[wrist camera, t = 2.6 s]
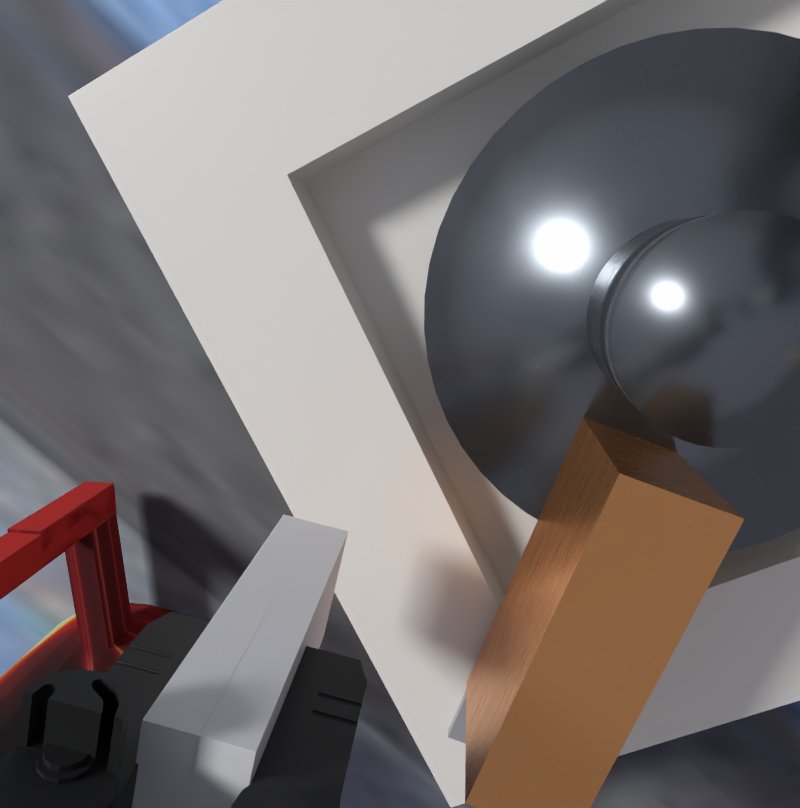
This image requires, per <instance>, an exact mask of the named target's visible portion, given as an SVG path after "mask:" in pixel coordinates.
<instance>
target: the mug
mask: <svg viewBox="0 0 800 808" xmlns="http://www.w3.org/2000/svg"><path fill="white" fill-rule="evenodd" d="M116 513H117V512H116V501H115V490H114V484H113V483H102V482H84V483H83V484H81V485H79V486H78V487H76V488H74V489H73V490H71V491H69V492H68V493H66V494H64V495H63V496H61V497H60V498H58V499H56V500H55V501H53V502H51V503H50V504H48V505H46V506H45V507H43V508H42V509H40V510H38V511H37V512H35V513H33V514H32V515H30V516H28V517H27V518H25V519H23V520H22V521H20V522H19V523H17V524H15V525H14V526H12V527H10V528H9V529H8V533H7V534H5V535H3V536H2V537H0V599H2V598H3V597H4V596H6V595H7V594H8V593H10V592H11V591H12V590H14V589H15V588H16V587H18V586H19V585H21V584H22V583H23V582H25V581H26V580H27V579H29V578H30V577H31V576H33V575H34V574H35V573H37V572H38V571H39V570H41V569H42V568H43V567H45V566H46V565H47V564H49V563H50V562H51V561H53V560H54V559H55V558H57V557H58V556H59V555H61V554H62V553H63V552H65V554H66V560H67V566H68V572H69V578H70V584H71V590H72V595H73V601H74V607H75V613H76V614H74V615H73V616H71V617H69V618H68V619H66V620H64V621H63V622H61V623H59V624H58V625H57V626H56V627H55V628H54V629H53V630H52V631H50V632H49V633H48V634H47V635H46V636H45V637H44V638H43V639H42V640H41V641H40V642H38V643H37V644H36V645H35V646H34V647H33V648H32V649H31V650H30V651H29V652H28V653H26V654H25V655H24V656H23V657H22V658H21V659H20V660H19V661H18V662H17V663H15V664H14V665H13V666H12V667H11V668H10V669H9V670H8V671H7V672H6V673H5V674H3V675H2V676H1V677H0V753H5V752H9V751H13V750H14V749H15V748H16V747H17V745H18V735H19V726H20V716H21V706H22V696H23V691H24V690H26V689H27V688H29V687H30V686H31V685H33V684H34V683H36V682H37V681H38V680H40V679H43V678H45V677H48V676H51V675H54V674H56V673H59V672H65V671H73V670H81V669H82V670H90V671H98V672H103V673H106V672H107V671H108V670H109V669H110V667H111V666H112V665H113V664H114V663H116V662H117V660H118V658H119V657H120V656H121V654H122V653H123V652H124V651H125V650H126V649H127V647H130V645H131V643H132V641H133V640H134V639H135V638H136V637H137V636H138V634H139V633H140V632H141V631H142V630H143V629H144V627H145V626H146V625H147V624H149V623H151V622H153V621H155V620H156V619H158V618H160V617H162V616H164V615H166V614H168V613H170V612H174V611H171V610H167V609H164V608H160V607H156V606H152V605H147V604H135V603H129V598H128V591H127V584H126V577H125V570H124V564H123V557H122V550H121V543H120V537H119V530H118V523H117V516H116ZM175 613H177V612H175ZM178 614H179V613H178Z"/></svg>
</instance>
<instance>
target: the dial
mask: <svg viewBox="0 0 800 808" xmlns="http://www.w3.org/2000/svg"><path fill="white" fill-rule="evenodd" d="M424 333H425V342H426V350H427V359H428V364H429V368H430V372H431V376H432V380H433V384H434V388H435V392H436V394H437V397H438V399H439V402H440V404H441V407H442V409H443V412H444V414H445V417H446V419H447V422H448V423H449V425H450V427H451V429H452V431H453V432H454V434H455V436H456V438H457V439H458V441H459V443H460V445H461V447H462V448H463V449H464V451H465V452H466V453H467V455H468V456H469V457H470V459H471V460H472V461H473V463H474V464H475V465H476V467H477V468H478V469H479V471H480V472H481V473H482V474H483V475H484V476H485V477H486V478H487V479H488V480H489V481H490V482H491V483H492V484H493V485H494V486H495V487H496V488H497V489H498V490H499V491H500V492H501V494H503V495H504V496H505V497H506V498H508V499H509V500H510V501H512V502H513V503H514V504H515V505H517V506H518V507H519V508H520V509H522V510H523V511H524V512H526V513H527V514H529V515H531V516H532V517H534V518H536V519H537V520H538V521H537V523H536V526H535V528H534V530H533V532H532V535H531V537H530V539H529V541H528V544H527V546H526V548H525V551H524V553H523V555H522V557H521V560H520V562H519V564H518V566H517V569H516V571H515V573H514V575H513V578H512V580H511V582H510V585H509V587H508V589H507V591H506V594H505V596H504V598H503V600H502V603H501V605H500V607H499V610H498V612H497V614H496V616H495V619H494V621H493V623H492V625H491V628H490V630H489V632H488V634H487V637H486V639H485V641H484V644H483V646H482V648H481V650H480V653H479V655H478V657H477V659H476V662H475V664H474V666H473V668H472V671H471V673H470V675H469V678H468V680H467V682H466V763H465V804H468V805H470V806H473V807H476V808H590V807H591V805H592V803H593V802H594V800H595V798H596V796H597V794H598V792H599V790H600V788H601V787H602V785H603V783H604V781H605V779H606V777H607V775H608V773H609V772H610V770H611V768H612V766H613V764H614V762H615V760H616V759H617V757H618V755H619V753H620V751H621V749H622V747H623V745H624V744H625V742H626V740H627V738H628V736H629V734H630V732H631V730H632V729H633V727H634V725H635V723H636V721H637V719H638V717H639V716H640V714H641V712H642V710H643V708H644V706H645V704H646V702H647V701H648V699H649V697H650V695H651V693H652V691H653V689H654V688H655V686H656V684H657V682H658V680H659V678H660V676H661V674H662V673H663V671H664V669H665V667H666V665H667V663H668V661H669V659H670V658H671V656H672V654H673V652H674V650H675V648H676V646H677V645H678V643H679V641H680V639H681V637H682V635H683V633H684V631H685V630H686V628H687V626H688V624H689V622H690V620H691V618H692V616H693V615H694V613H695V611H696V609H697V607H698V605H699V603H700V602H701V600H702V598H703V596H704V594H705V592H706V590H707V588H708V587H709V585H710V583H711V581H712V579H713V577H714V575H715V573H716V572H717V570H718V568H719V566H720V564H721V562H722V560H723V559H724V557H725V555H726V553H727V552H728V551H733V550H739V549H743V548H746V547H750V546H753V545H756V544H760V543H763V542H767V541H770V540H773V539H776V538H778V537H780V536H783V535H785V534H787V533H790V532H792V531H795V530H797V529H799V528H800V39H799V38H795V37H791V36H788V35H784V34H780V33H776V32H769V31H761V30H752V29H743V28H704V29H692V30H686V31H680V32H674V33H667V34H661V35H656V36H653V37H650V38H646V39H643V40H640V41H637V42H633V43H630V44H627V45H623V46H620V47H618V48H616V49H613V50H611V51H609V52H607V53H604V54H602V55H600V56H598V57H596V58H593V59H591V60H589V61H587V62H584V63H583V64H581V65H579V66H578V67H576V68H575V69H573V70H571V71H570V72H568V73H566V74H565V75H563V76H561V77H560V78H558V79H557V80H555V81H553V82H552V83H550V84H549V85H548V86H546V87H545V88H544V89H543V90H541V91H540V92H539V93H538V94H536V95H535V96H534V97H533V98H531V99H530V100H529V101H528V102H526V103H525V104H524V105H523V106H521V107H520V108H519V109H518V110H517V111H516V112H515V113H514V114H513V115H512V116H511V117H510V118H509V119H508V120H507V122H506V123H505V124H504V125H503V126H502V127H501V128H500V129H499V130H498V131H497V132H496V133H495V134H494V135H493V136H492V138H491V139H490V140H489V141H488V143H487V144H486V145H485V147H484V148H483V149H482V151H481V152H480V153H479V155H478V156H477V157H476V159H475V160H474V161H473V163H472V164H471V165H470V167H469V169H468V171H467V172H466V174H465V176H464V178H463V179H462V181H461V183H460V184H459V186H458V188H457V190H456V191H455V193H454V195H453V197H452V199H451V201H450V204H449V206H448V209H447V211H446V213H445V216H444V218H443V220H442V223H441V225H440V228H439V230H438V234H437V237H436V241H435V245H434V248H433V252H432V255H431V259H430V262H429V269H428V276H427V283H426V290H425V300H424Z"/></svg>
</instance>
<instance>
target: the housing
mask: <svg viewBox="0 0 800 808" xmlns="http://www.w3.org/2000/svg"><path fill="white" fill-rule="evenodd" d="M704 28H743V29H752V30H761V31H769V32H776V33H780V34H784V35H788V36H791V37H795V38H799V39H800V0H222V1H221V2H219V3H218V4H216V5H214V6H213V7H211V8H210V9H208V10H206V11H205V12H203V13H202V14H200V15H198V16H197V17H195V18H193V19H192V20H190V21H189V22H187V23H185V24H184V25H182V26H181V27H179V28H177V29H176V30H174V31H173V32H171V33H169V34H168V35H166V36H164V37H163V38H161V39H160V40H158V41H156V42H155V43H153V44H152V45H150V46H148V47H147V48H145V49H144V50H142V51H140V52H139V53H137V54H135V55H134V56H132V57H131V58H129V59H127V60H126V61H124V62H123V63H121V64H119V65H118V66H116V67H115V68H113V69H111V70H110V71H108V72H106V73H105V74H103V75H102V76H100V77H98V78H97V79H95V80H94V81H92V82H90V83H89V84H87V85H86V86H84V87H82V88H81V89H79V90H77V91H76V92H74V93H73V94H71V95H69V96H68V97H69V99H70V101H71V103H72V104H73V106H74V108H75V110H76V112H77V114H78V116H79V117H80V119H81V121H82V123H83V125H84V127H85V129H86V130H87V132H88V134H89V136H90V138H91V140H92V142H93V144H94V145H95V147H96V149H97V151H98V153H99V155H100V157H101V158H102V160H103V162H104V164H105V166H106V168H107V170H108V171H109V173H110V175H111V177H112V179H113V181H114V183H115V184H116V186H117V188H118V190H119V192H120V194H121V196H122V197H123V199H124V201H125V203H126V205H127V207H128V209H129V210H130V212H131V214H132V216H133V218H134V220H135V222H136V223H137V225H138V227H139V229H140V231H141V233H142V235H143V237H144V238H145V240H146V242H147V244H148V246H149V248H150V250H151V251H152V253H153V255H154V257H155V259H156V261H157V263H158V264H159V266H160V268H161V270H162V272H163V274H164V276H165V277H166V279H167V281H168V283H169V285H170V287H171V289H172V290H173V292H174V294H175V296H176V298H177V300H178V302H179V303H180V305H181V307H182V309H183V311H184V313H185V315H186V317H187V318H188V320H189V322H190V324H191V326H192V328H193V330H194V331H195V333H196V335H197V337H198V339H199V341H200V343H201V344H202V346H203V348H204V350H205V352H206V354H207V356H208V357H209V359H210V361H211V363H212V365H213V367H214V369H215V370H216V372H217V374H218V376H219V378H220V380H221V382H222V383H223V385H224V387H225V389H226V391H227V393H228V395H229V397H230V398H231V400H232V402H233V404H234V406H235V408H236V410H237V411H238V413H239V415H240V417H241V419H242V421H243V423H244V424H245V426H246V428H247V430H248V432H249V434H250V436H251V437H252V439H253V441H254V443H255V445H256V447H257V449H258V450H259V452H260V454H261V456H262V458H263V460H264V462H265V463H266V465H267V467H268V469H269V471H270V473H271V475H272V477H273V478H274V480H275V482H276V484H277V486H278V488H279V490H280V491H281V493H282V495H283V497H284V499H285V501H286V503H287V504H288V506H289V508H290V510H291V512H292V514H293V516H294V517H295V518H299V519H302V520H306V521H310V522H314V523H318V524H322V525H325V526H329V527H333V528H337V529H341V530H345V531H348V534H347V538H346V543H345V547H344V551H343V556H342V560H341V564H340V569H339V573H338V577H337V582H336V586H335V590H334V592H335V594H336V596H337V597H338V599H339V601H340V603H341V605H342V607H343V609H344V610H345V612H346V614H347V616H348V618H349V620H350V622H351V623H352V625H353V627H354V629H355V631H356V633H357V635H358V637H359V638H360V640H361V642H362V644H363V646H364V648H365V650H366V651H367V653H368V655H369V657H370V659H371V661H372V663H373V664H374V666H375V668H376V670H377V672H378V674H379V676H380V677H381V679H382V681H383V683H384V685H385V687H386V689H387V690H388V692H389V694H390V696H391V698H392V700H393V702H394V703H395V705H396V707H397V709H398V711H399V713H400V715H401V716H402V718H403V720H404V722H405V724H406V726H407V728H408V730H409V731H410V733H411V735H412V737H413V739H414V741H415V743H416V744H417V746H418V748H419V750H420V752H421V754H422V756H423V757H424V759H425V761H426V763H427V765H428V767H429V769H430V770H431V772H432V774H433V776H434V778H435V780H436V782H437V783H438V785H439V787H440V789H441V791H442V793H443V795H444V796H445V798H446V800H447V802H448V804H449V806H450V808H451V807H455V806H458V805H461V804H464V803H465V763H466V682H467V680H468V678H469V675H470V673H471V671H472V668H473V666H474V664H475V662H476V659H477V657H478V655H479V653H480V650H481V648H482V646H483V644H484V641H485V639H486V637H487V634H488V632H489V630H490V628H491V625H492V623H493V621H494V619H495V616H496V614H497V612H498V610H499V607H500V605H501V603H502V600H503V598H504V596H505V594H506V591H507V589H508V587H509V585H510V582H511V580H512V578H513V575H514V573H515V571H516V569H517V566H518V564H519V562H520V560H521V557H522V555H523V553H524V551H525V548H526V546H527V544H528V541H529V539H530V537H531V535H532V532H533V530H534V528H535V526H536V523H537V521H538V520H537V519H536V518H534V517H532V516H531V515H529V514H527V513H526V512H524V511H523V510H522V509H520V508H519V507H518V506H517V505H515V504H514V503H513V502H512V501H510V500H509V499H508V498H506V497H505V496H504V495H503V494H501V492H500V491H499V490H498V489H497V488H496V487H495V486H494V485H493V484H492V483H491V482H490V481H489V480H488V479H487V478H486V477H485V476H484V475H483V474H482V473H481V472H480V471H479V469H478V468H477V467H476V465H475V464H474V463H473V461H472V460H471V459H470V457H469V456H468V455H467V453H466V452H465V451H464V449H463V448H462V447H461V445H460V443H459V441H458V439H457V438H456V436H455V434H454V432H453V431H452V429H451V427H450V425H449V423H448V422H447V419H446V417H445V414H444V412H443V409H442V407H441V404H440V402H439V399H438V397H437V394H436V392H435V388H434V384H433V380H432V376H431V372H430V368H429V364H428V359H427V350H426V342H425V333H424V300H425V290H426V283H427V276H428V269H429V262H430V259H431V255H432V252H433V248H434V245H435V241H436V237H437V234H438V230H439V228H440V225H441V223H442V220H443V218H444V216H445V213H446V211H447V209H448V206H449V204H450V201H451V199H452V197H453V195H454V193H455V191H456V190H457V188H458V186H459V184H460V183H461V181H462V179H463V178H464V176H465V174H466V172H467V171H468V169H469V167H470V165H471V164H472V163H473V161H474V160H475V159H476V157H477V156H478V155H479V153H480V152H481V151H482V149H483V148H484V147H485V145H486V144H487V143H488V141H489V140H490V139H491V138H492V136H493V135H494V134H495V133H496V132H497V131H498V130H499V129H500V128H501V127H502V126H503V125H504V124H505V123H506V122H507V120H508V119H509V118H510V117H511V116H512V115H513V114H514V113H515V112H516V111H517V110H518V109H519V108H520V107H521V106H523V105H524V104H525V103H526V102H528V101H529V100H530V99H531V98H533V97H534V96H535V95H536V94H538V93H539V92H540V91H541V90H543V89H544V88H545V87H546V86H548V85H549V84H550V83H552V82H553V81H555V80H557V79H558V78H560V77H561V76H563V75H565V74H566V73H568V72H570V71H571V70H573V69H575V68H576V67H578V66H579V65H581V64H583V63H584V62H587V61H589V60H591V59H593V58H596V57H598V56H600V55H602V54H604V53H607V52H609V51H611V50H613V49H616V48H618V47H620V46H623V45H627V44H630V43H633V42H637V41H640V40H643V39H646V38H650V37H653V36H656V35H661V34H667V33H674V32H680V31H686V30H692V29H704ZM796 701H800V528H799V529H797V530H795V531H792V532H790V533H787V534H785V535H783V536H780V537H778V538H776V539H773V540H770V541H767V542H763V543H760V544H756V545H753V546H750V547H746V548H743V549H739V550H733V551H728V552H727V553H726V555H725V557H724V559H723V560H722V562H721V564H720V566H719V568H718V570H717V572H716V573H715V575H714V577H713V579H712V581H711V583H710V585H709V587H708V588H707V590H706V592H705V594H704V596H703V598H702V600H701V602H700V603H699V605H698V607H697V609H696V611H695V613H694V615H693V616H692V618H691V620H690V622H689V624H688V626H687V628H686V630H685V631H684V633H683V635H682V637H681V639H680V641H679V643H678V645H677V646H676V648H675V650H674V652H673V654H672V656H671V658H670V659H669V661H668V663H667V665H666V667H665V669H664V671H663V673H662V674H661V676H660V678H659V680H658V682H657V684H656V686H655V688H654V689H653V691H652V693H651V695H650V697H649V699H648V701H647V702H646V704H645V706H644V708H643V710H642V712H641V714H640V716H639V717H638V719H637V721H636V723H635V725H634V727H633V729H632V730H631V732H630V734H629V736H628V738H627V740H626V742H625V744H624V745H623V747H622V749H621V751H620V753H619V755H618V756H621V755H624V754H627V753H630V752H634V751H637V750H640V749H643V748H647V747H650V746H653V745H656V744H660V743H663V742H666V741H669V740H673V739H676V738H679V737H682V736H686V735H689V734H692V733H695V732H699V731H702V730H705V729H709V728H712V727H715V726H718V725H722V724H725V723H728V722H731V721H735V720H738V719H741V718H744V717H748V716H751V715H754V714H757V713H761V712H764V711H767V710H770V709H774V708H777V707H780V706H783V705H787V704H790V703H793V702H796Z"/></svg>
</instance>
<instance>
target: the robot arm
mask: <svg viewBox="0 0 800 808" xmlns="http://www.w3.org/2000/svg"><path fill="white" fill-rule="evenodd" d="M347 534H348V531H345V530H341V529H337V528H333V527H329V526H325V525H322V524H318V523H314V522H310V521H306V520H302V519H299V518H295V517H291V516H287V515H283V516H282V518H281V519H280V520H279V522H278V523H277V525H276V526H275V528H274V529H273V531H272V532H271V534H270V535H269V536H268V538H267V539H266V541H265V542H264V544H263V545H262V547H261V548H260V550H259V551H258V552H257V554H256V555H255V557H254V558H253V560H252V561H251V563H250V564H249V566H248V567H247V568H246V570H245V571H244V573H243V574H242V576H241V577H240V579H239V580H238V582H237V583H236V584H235V586H234V587H233V589H232V590H231V592H230V593H229V595H228V596H227V597H226V599H225V600H224V602H223V603H222V605H221V606H220V608H219V609H218V611H217V612H216V613H215V615H214V616H213V618H212V619H211V621H210V622H208V621H204V620H201V619H197V618H193V617H190V616H186V615H182V614H178V613H175V612H170V613H168V614H166V615H164V616H162V617H160V618H158V619H156V620H155V621H153V622H151V623H149V624H147V625H146V626H145V627H144V629H143V630H142V631H141V632H140V633H139V634H138V636H137V637H136V638H135V639H134V640H133V641H132V643H131V645H130V647H127V649H126V650H125V651H124V652H123V653H122V654H121V656H120V657H119V658H118V660H117V662H116V663H114V664H113V665H112V666H111V667H110V669H109V670H108V671H107V672H106V673H103V672H98V671H90V670H82V669H81V670H73V671H65V672H59V673H56V674H54V675H51V676H48V677H45V678H43V679H40V680H38V681H37V682H36V683H34V684H33V685H31V686H30V687H29V688H27V689H26V690H24V691H23V696H22V706H21V716H20V726H19V735H18V745H17V747H16V748H15V749H14V750H13V751H9V752H5V753H0V808H340V797H341V792H342V788H343V784H344V779H345V775H346V770H347V766H348V762H349V757H350V753H351V749H352V744H353V740H354V736H355V731H356V727H357V722H358V718H359V714H360V709H361V705H362V701H363V696H364V692H365V688H366V683H367V681H366V678H365V675H364V672H363V669H362V665H361V662H360V660H357V659H353V658H350V657H346V656H342V655H338V654H335V653H331V652H327V651H324V650H320V649H319V648H320V645H321V642H322V640H323V637H324V633H325V629H326V625H327V620H328V616H329V612H330V607H331V603H332V599H333V594H334V590H335V586H336V582H337V577H338V573H339V569H340V564H341V560H342V556H343V551H344V547H345V543H346V538H347Z"/></svg>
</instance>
